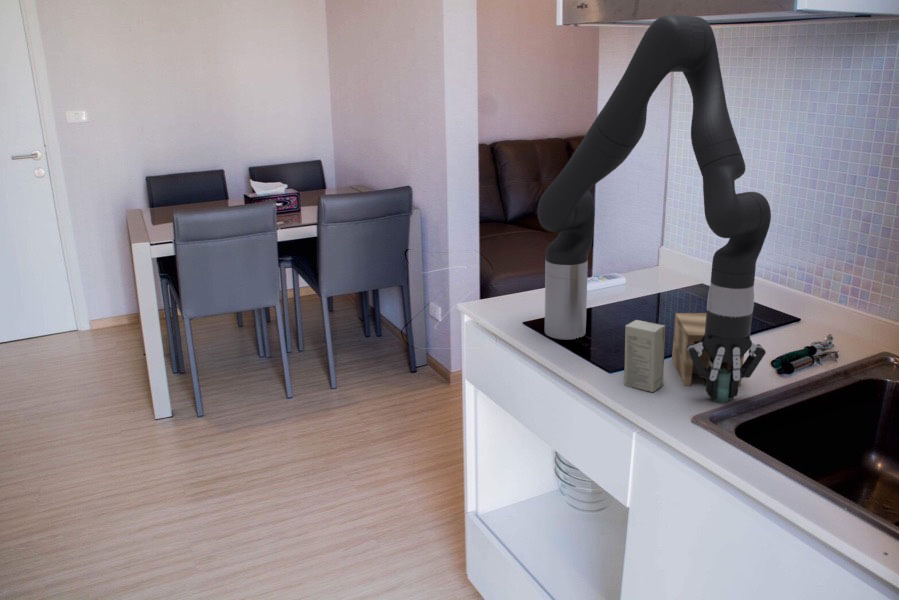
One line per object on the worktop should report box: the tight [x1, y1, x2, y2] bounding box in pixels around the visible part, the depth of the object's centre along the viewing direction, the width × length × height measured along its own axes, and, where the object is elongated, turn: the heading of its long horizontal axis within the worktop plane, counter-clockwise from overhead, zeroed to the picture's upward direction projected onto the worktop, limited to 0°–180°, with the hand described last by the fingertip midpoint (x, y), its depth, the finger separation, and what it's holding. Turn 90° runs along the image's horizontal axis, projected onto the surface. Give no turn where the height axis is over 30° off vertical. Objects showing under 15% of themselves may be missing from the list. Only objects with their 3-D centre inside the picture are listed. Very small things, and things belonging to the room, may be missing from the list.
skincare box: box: [623, 319, 666, 393], centre depth 140 cm, size 6×4×12 cm
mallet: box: [692, 341, 731, 404], centre depth 142 cm, size 18×5×6 cm, turn 176°
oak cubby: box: [671, 312, 745, 387], centre depth 145 cm, size 12×10×10 cm
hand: (721, 396), depth 135 cm, fingers closed on mallet, 2 cm apart
